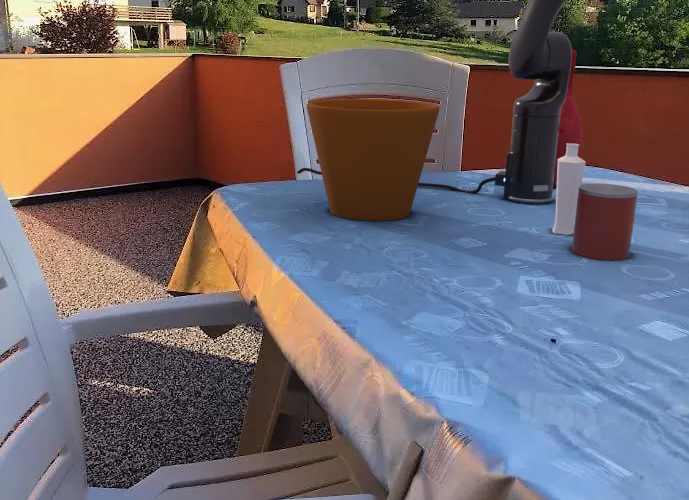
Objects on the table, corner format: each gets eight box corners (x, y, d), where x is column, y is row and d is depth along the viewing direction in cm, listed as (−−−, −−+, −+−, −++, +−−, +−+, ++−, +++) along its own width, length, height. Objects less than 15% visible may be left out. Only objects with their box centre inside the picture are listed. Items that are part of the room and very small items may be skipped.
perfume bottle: (579, 236, 118) (589, 146, 114) (551, 234, 119) (561, 145, 115) (576, 229, 123) (585, 143, 119) (549, 228, 124) (558, 141, 119)
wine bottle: (580, 183, 165) (595, 49, 157) (574, 190, 157) (590, 49, 148) (537, 179, 169) (549, 48, 161) (529, 186, 160) (542, 48, 152)
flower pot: (288, 221, 125) (287, 105, 119) (327, 195, 147) (328, 96, 141) (421, 232, 119) (428, 111, 113) (441, 203, 141) (447, 101, 135)
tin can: (567, 255, 108) (575, 190, 105) (576, 242, 115) (583, 181, 112) (626, 263, 104) (635, 196, 101) (631, 249, 111) (639, 186, 109)
